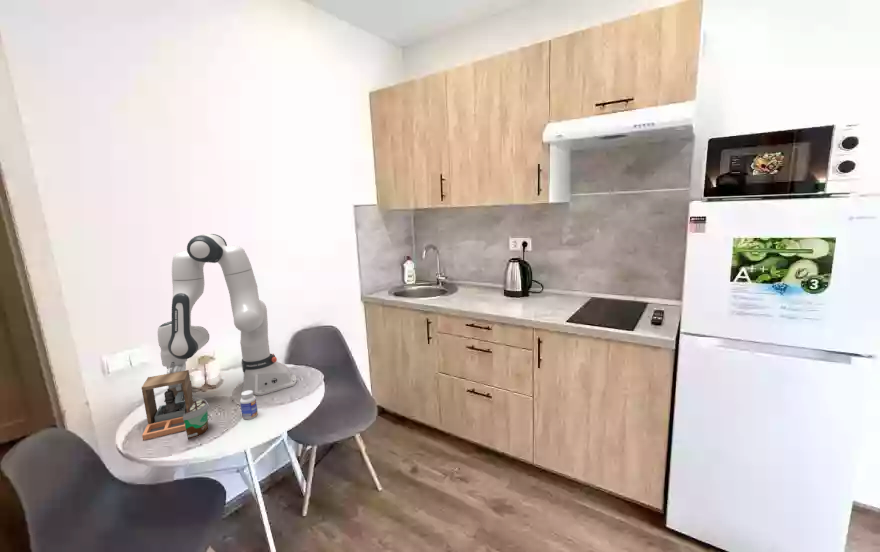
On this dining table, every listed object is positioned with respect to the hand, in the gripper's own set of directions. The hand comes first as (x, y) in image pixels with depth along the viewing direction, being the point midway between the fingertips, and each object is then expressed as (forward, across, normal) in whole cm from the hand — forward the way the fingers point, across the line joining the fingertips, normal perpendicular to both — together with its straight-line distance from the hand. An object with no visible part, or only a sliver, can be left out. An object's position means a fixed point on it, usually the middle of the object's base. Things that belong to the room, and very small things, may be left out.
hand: (179, 389), depth 164 cm
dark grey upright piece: (+4, -19, 0) cm, 19 cm away
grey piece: (+3, -9, 0) cm, 10 cm away
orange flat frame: (+4, -28, 0) cm, 29 cm away
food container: (+4, -35, -11) cm, 37 cm away
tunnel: (+4, -19, 0) cm, 19 cm away
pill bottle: (+4, -33, -27) cm, 43 cm away
